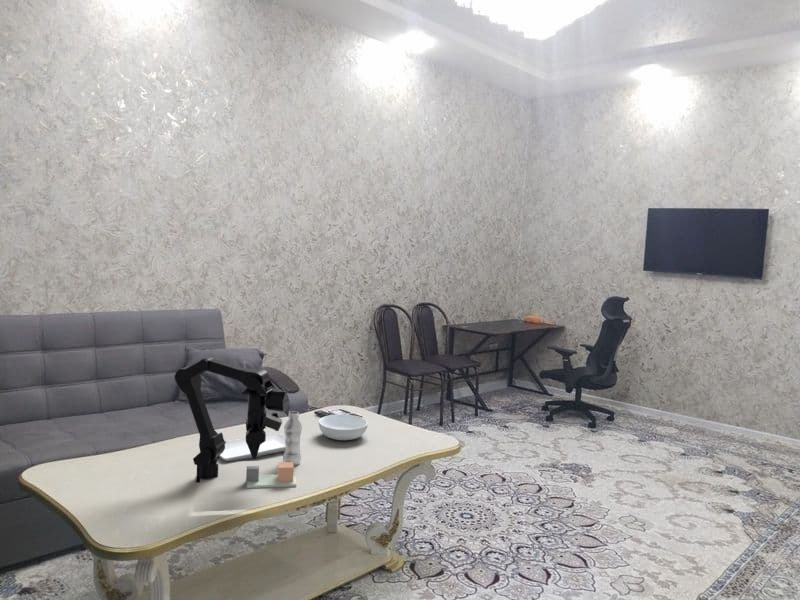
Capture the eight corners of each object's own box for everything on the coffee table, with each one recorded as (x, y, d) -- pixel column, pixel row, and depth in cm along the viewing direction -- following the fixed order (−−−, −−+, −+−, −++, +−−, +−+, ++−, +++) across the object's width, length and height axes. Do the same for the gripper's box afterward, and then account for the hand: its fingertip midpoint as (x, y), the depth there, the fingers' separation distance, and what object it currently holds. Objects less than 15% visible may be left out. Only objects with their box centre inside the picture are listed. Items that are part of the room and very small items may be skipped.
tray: (299, 451, 240) (300, 443, 239) (224, 467, 219) (224, 458, 219) (278, 439, 252) (278, 431, 252) (204, 453, 232) (205, 444, 231)
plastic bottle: (304, 465, 225) (306, 412, 223) (292, 470, 219) (294, 416, 217) (290, 461, 228) (293, 409, 226) (278, 466, 222) (280, 412, 220)
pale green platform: (245, 488, 199) (246, 472, 198) (246, 477, 207) (246, 462, 207) (296, 486, 202) (297, 471, 202) (294, 476, 211) (295, 461, 211)
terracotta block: (277, 482, 203) (278, 467, 202) (277, 476, 208) (278, 462, 207) (293, 481, 204) (293, 467, 204) (292, 476, 209) (292, 461, 208)
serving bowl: (309, 440, 252) (310, 424, 252) (329, 427, 272) (330, 412, 272) (356, 448, 247) (357, 431, 246) (373, 433, 267) (374, 418, 266)
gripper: (282, 416, 195) (280, 463, 196) (279, 400, 213) (277, 444, 214) (246, 416, 192) (244, 464, 193) (247, 400, 210) (244, 444, 211)
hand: (254, 453), depth 203 cm, fingers open, 9 cm apart
